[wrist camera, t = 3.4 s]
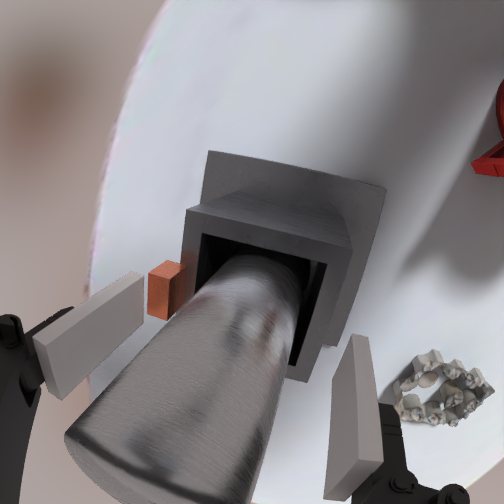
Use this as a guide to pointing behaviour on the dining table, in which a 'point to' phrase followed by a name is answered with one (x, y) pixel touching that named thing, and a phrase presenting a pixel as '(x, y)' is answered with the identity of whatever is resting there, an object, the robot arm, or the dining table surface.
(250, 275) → the column
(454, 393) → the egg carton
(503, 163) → the mug
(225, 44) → the dining table surface
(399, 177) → the dining table surface
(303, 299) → the stand
